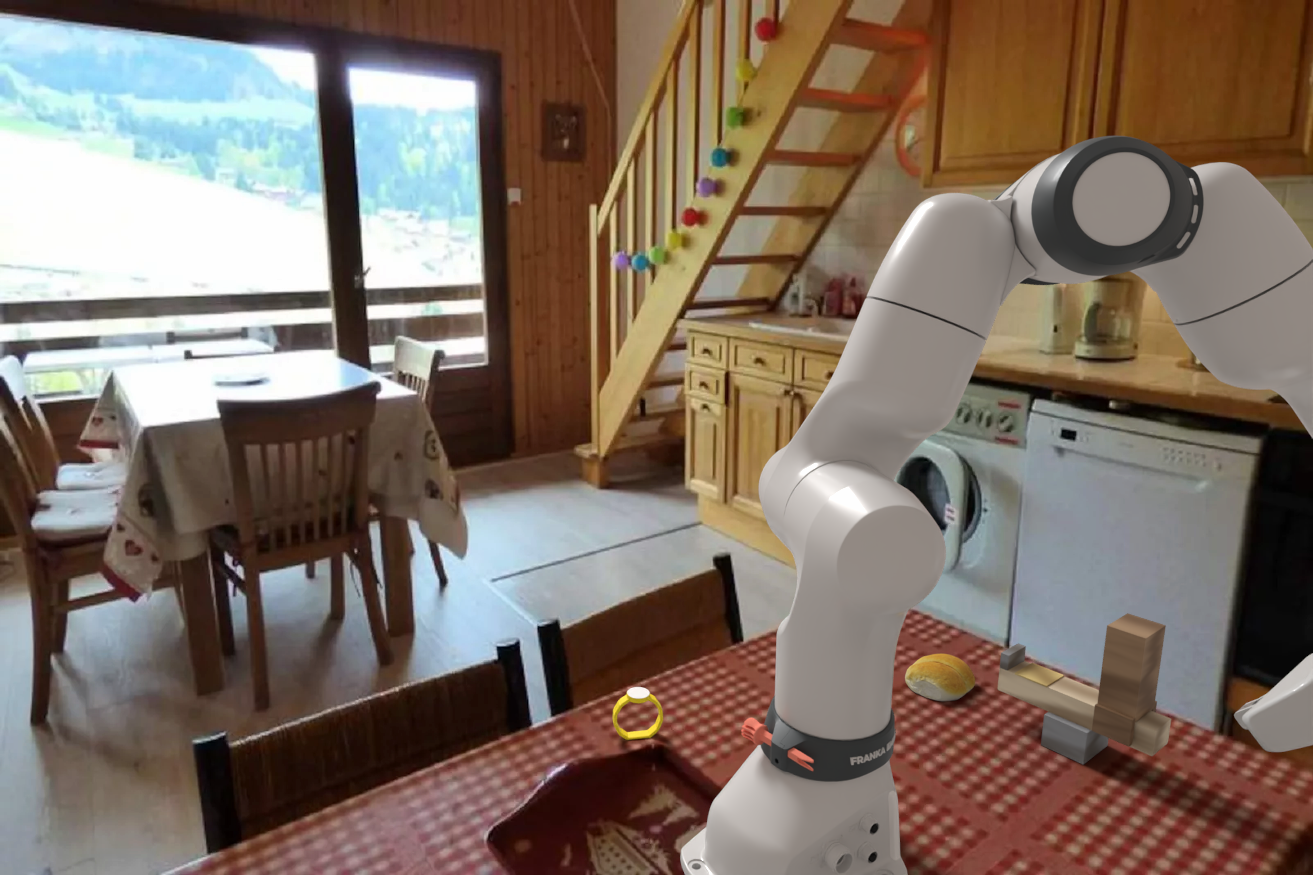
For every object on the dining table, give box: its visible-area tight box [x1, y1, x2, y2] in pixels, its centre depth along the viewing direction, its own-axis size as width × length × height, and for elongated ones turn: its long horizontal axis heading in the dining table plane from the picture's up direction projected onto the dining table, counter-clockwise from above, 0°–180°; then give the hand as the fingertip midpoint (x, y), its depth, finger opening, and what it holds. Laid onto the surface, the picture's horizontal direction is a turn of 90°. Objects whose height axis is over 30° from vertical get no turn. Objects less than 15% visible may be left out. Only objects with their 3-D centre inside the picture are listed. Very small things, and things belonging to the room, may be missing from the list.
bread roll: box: [904, 653, 976, 702], centre depth 115 cm, size 8×9×4 cm
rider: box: [1092, 613, 1167, 747], centre depth 95 cm, size 6×4×13 cm, turn 128°
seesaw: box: [997, 642, 1172, 765], centre depth 100 cm, size 6×18×9 cm, turn 38°
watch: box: [612, 686, 664, 741], centre depth 103 cm, size 6×3×6 cm, turn 100°
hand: (1243, 717), depth 86 cm, fingers closed
